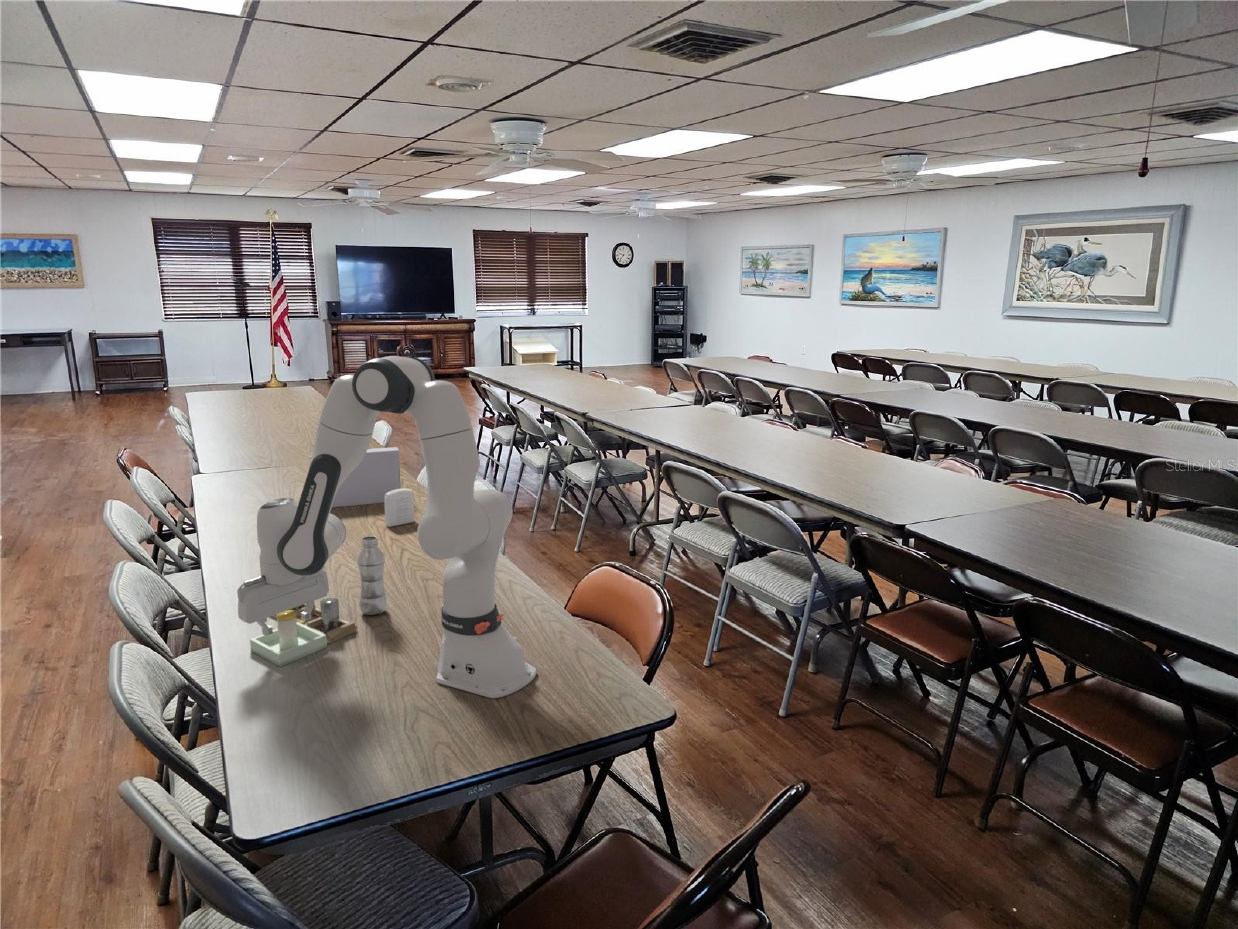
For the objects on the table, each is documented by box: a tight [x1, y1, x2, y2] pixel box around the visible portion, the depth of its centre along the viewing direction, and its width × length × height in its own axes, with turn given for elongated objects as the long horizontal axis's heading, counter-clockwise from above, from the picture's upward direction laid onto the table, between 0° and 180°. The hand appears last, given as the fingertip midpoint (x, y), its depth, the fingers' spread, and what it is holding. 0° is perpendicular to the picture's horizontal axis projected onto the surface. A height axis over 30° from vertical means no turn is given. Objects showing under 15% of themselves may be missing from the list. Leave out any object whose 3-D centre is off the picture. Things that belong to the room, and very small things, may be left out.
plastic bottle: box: [356, 535, 388, 616], centre depth 190 cm, size 6×7×20 cm
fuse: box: [275, 610, 299, 650], centre depth 172 cm, size 4×4×8 cm
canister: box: [319, 597, 340, 634], centre depth 181 cm, size 4×4×8 cm
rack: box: [272, 604, 358, 644], centre depth 186 cm, size 25×8×2 cm, turn 55°
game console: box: [331, 446, 402, 509], centre depth 281 cm, size 6×27×20 cm, turn 115°
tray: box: [249, 622, 328, 668], centre depth 173 cm, size 12×12×3 cm
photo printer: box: [383, 487, 416, 528], centre depth 259 cm, size 10×4×12 cm, turn 134°
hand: (287, 626), depth 172 cm, fingers open, 8 cm apart
